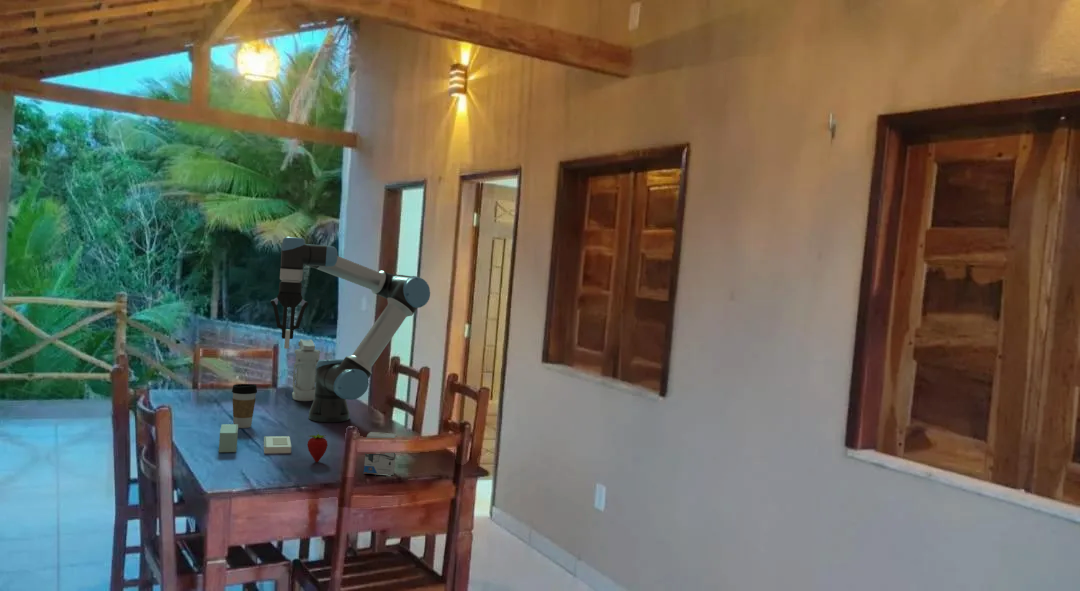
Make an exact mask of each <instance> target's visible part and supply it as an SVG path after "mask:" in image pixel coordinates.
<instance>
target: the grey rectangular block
mask: <svg viewBox="0 0 1080 591" xmlns="http://www.w3.org/2000/svg"><path fill="white" fill-rule="evenodd" d="M238 432H239V428H238V424H232V423H231V424H229V423H228V424H226V423H225V424H223V423H221V424H220V429H219V440H218V441H219V442H218V444H219V445H218V453H237V446H238V437H239V436H238V435H239V434H238Z"/></svg>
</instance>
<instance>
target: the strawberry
mask: <svg viewBox="0 0 1080 591" xmlns="http://www.w3.org/2000/svg"><path fill="white" fill-rule="evenodd" d="M315 431H316V432H317V434H316V435H309V439H308V440H307V450H308V452H309V454H310V456H311V457H312V459H313V461H314V462H316V463H319V461H320V460H321V459H322V457H323V456H324V455H325V453H326V452H327V448H328V440H327V439H326V436H327V435H325V434H324V435H323V434H322V435H320V434H319V432H318V430H317V429H315Z"/></svg>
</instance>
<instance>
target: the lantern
mask: <svg viewBox="0 0 1080 591" xmlns="http://www.w3.org/2000/svg"><path fill="white" fill-rule="evenodd" d="M299 340H300V341H298V346H299V348H297V349H294V354H295V361H294V362H295V363H294V364H293V375H292V389H293V392H291V394H292V395H291V396H292V397H291V398H292V399H293V400H295V401H299V402H310V401H312V402H313V401H314V398H315V384H316V368H317V362H318V361H319V360H320V355H321V350H320V349H316V345H315V343H314V341H313V339H309V338H308V339H307V338H304V339H303V338H300V339H299Z"/></svg>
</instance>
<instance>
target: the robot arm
mask: <svg viewBox="0 0 1080 591" xmlns="http://www.w3.org/2000/svg"><path fill="white" fill-rule="evenodd" d="M280 250H281V253H280V271H279V280H280V281H279V286H278V293H277V294H278V295H276V297H275V298H274V299H271V300H270V304H271V305H272V307H273V312H274V317H275V322H276V326H277V328H279V329H281V339H282V340H283V339H284V344H283V345H284V346H283V348H284V349H285V350H287V349H290V341H291V340H293V339H294V331H295V330H297V329H299V328H300V327H301V326H300V325H301V323H302V320H303V316H304V314H305V310H306V309H307V307H308V306H309V302H308V301H306V300H304V299H303V295H302V290H303V289H302V288H303V283H302V281H303V273H304V266H307V267H310V268H312V269H316V270H319V271H321V272H324V273H327V274H329V275H332V276H334V277H336V278H340V279H343V280H345V281H347V282H350V283H353V284H355V285H358V286H360V287H363V288H366V289H369V290H371V293H372V294H375V295H377V296H379V297H382V298H384V299H386V300H387V305H386V306H385V308H384V309H383V310H382V312H381V314H380V315H379V316H378V318H377V319H376V321H375V322H374V323H373V325H372V326H371V328H370V329H369V330H368V332H367V333H366V335H365V336H364V338H363V339H362V340H361V341H360V342H359V345H358V346H357V347H356V349H355V350H354V352H353V353H352V354H351V355H347V356H345V357H344V358H343V359H334V358H333V359H330V358H329V359H319V361H318V362H317V365H316V366H317V368H316V383H315V398H314V400H312V404H311V406H310V408H309V411H308V419H309V420H310V421H313V422H320V423H340V422H346V421H348V420H349V419H350V411H349V407H348V403H347V400H350V401H353V400H357V399H360V398H361V397H362V396H364V394H366V392H367V390H369V389H368V388H369V383H370V382H369V381H370V380H369V378H371V377H372V374H373V372H372V367H373V366H374V364H375V363H376V361H377V360H378V358H379V357H380V356H381V354H382V353H383V351H384V350H385V348H386V347H387V346H388V344H389V343H390V341H391V340H392V339H393V337H394V336H395V334H396V333H397V331H398V330H399V328H400V327H401V326H402V324H403V323H404V321H405V320H406V319H407V317H411V316H413V315H414V314H415V312H416V310H418V309H419V308H422V307H424V306H425V305H427V303H428V302H429V300H430V297H431V289H430V286H429V284H428V282H427V281H426V280H425V279H424V278H422V277H419V276H416V275H404V274H394V273H389V272H386V271H384V270H379V271H378V270H374V269H372V268H369V267H366V266H364V265H361V264H359V263H356V262H354V261H351V260H349V259H347V258H344V257H341V256H340V255H338V250H337V248H336V247H335V246H333V245H332V246H331V245H328V244H327V245H326V244H325V245H320V244H307V243H306V240H305V239H304V238H303V237H291V236H285V237H284V238H282V243H281V249H280ZM278 301H279V302H278ZM279 303H280V304H281V306H282V307H283V308H282V309H283V310H282V311H283V312H282V324H281V320H280V314H279V309H278V306H277V305H278V304H279ZM299 304H300V306H301V307H300V309H299V313H298V317H297V319H296V322H295V313H296V307H298V306H299ZM288 308H290V320H289V329H287V319H288V317H287V316H288Z"/></svg>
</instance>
